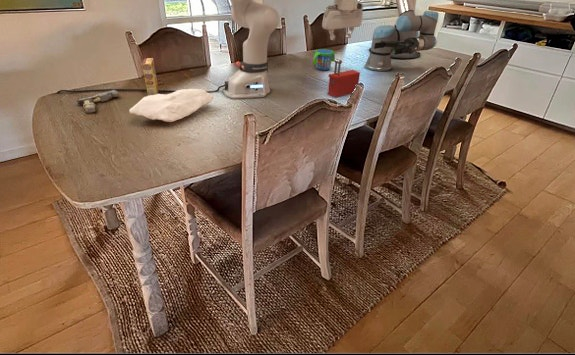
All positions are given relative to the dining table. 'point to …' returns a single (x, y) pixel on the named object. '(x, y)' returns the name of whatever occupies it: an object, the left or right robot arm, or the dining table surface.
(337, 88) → the chest
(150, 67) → the candy box
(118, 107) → the dining table surface
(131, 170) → the dining table surface
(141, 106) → the crumpled cloth
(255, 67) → the left robot arm
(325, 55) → the snack cup
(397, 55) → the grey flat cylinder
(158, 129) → the dining table surface
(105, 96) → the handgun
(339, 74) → the lid
